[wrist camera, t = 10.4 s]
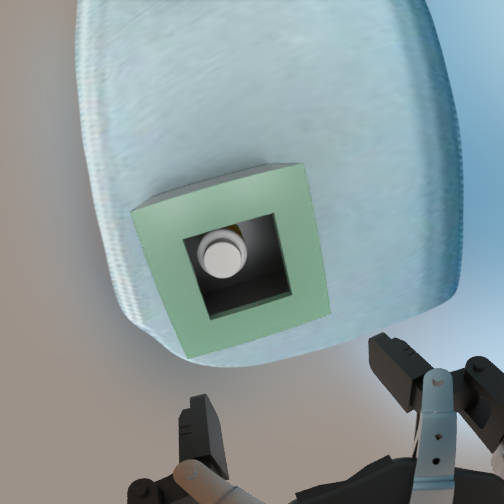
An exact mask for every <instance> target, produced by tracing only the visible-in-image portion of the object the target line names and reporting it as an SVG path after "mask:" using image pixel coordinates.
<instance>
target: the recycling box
mask: <svg viewBox="0 0 504 504" xmlns="http://www.w3.org/2000/svg"><path fill="white" fill-rule="evenodd" d="M131 215H132V219H133V222H134V225H135V228H136V231H137V234H138V237H139V240H140V243H141V245H142V248H143V251H144V254H145V257H146V260H147V262H148V265H149V268H150V270H151V273H152V276H153V278H154V281H155V284H156V286H157V289H158V291H159V294H160V296H161V299H162V301H163V304H164V306H165V309H166V311H167V314H168V316H169V318H170V321H171V323H172V325H173V328H174V330H175V332H176V335H177V337H178V339H179V341H180V344H181V346H182V348H183V350H184V352H185V355H186V357H187V359H189V358H193V357H197V356H201V355H205V354H208V353H212V352H215V351H219V350H222V349H226V348H229V347H233V346H236V345H240V344H243V343H246V342H250V341H253V340H256V339H259V338H262V337H265V336H269V335H272V334H275V333H278V332H281V331H284V330H287V329H290V328H293V327H296V326H299V325H301V324H304V323H307V322H310V321H313V320H316V319H318V318H321V317H324V316H327V315H329V314H331V310H330V303H329V296H328V290H327V283H326V277H325V271H324V265H323V259H322V253H321V247H320V242H319V236H318V231H317V226H316V220H315V215H314V210H313V205H312V200H311V196H310V191H309V186H308V181H307V177H306V172H305V168H304V163H273V164H264V165H260V166H256V167H252V168H248V169H244V170H240V171H237V172H233V173H229V174H225V175H222V176H218V177H215V178H211V179H207V180H204V181H200V182H197V183H194V184H190V185H187V186H184V187H180V188H177V189H174V190H171V191H167V192H164V193H161V194H158V195H155V196H152V197H151V198H149V199H148V200H147V201H145V202H144V203H142V204H141V205H139V206H138V207H137V208H135V209H134V210H133V211H131ZM233 224H237V225H238V227H239V228H240V230H241V232H242V235H243V238H244V241H245V244H246V247H247V258H246V262H245V264H244V266H243V267H242V268H241V270H240V271H238V272H237V273H236V274H234V275H233V276H231V277H228V278H217V277H214V276H212V275H210V274H208V273H207V272H206V271H205V270H204V269H203V268H202V267H201V265H200V263H199V261H198V257H197V249H198V244H199V240H200V237H201V234H202V233H206V232H209V231H212V230H216V229H219V228H222V227H226V226H229V225H233Z"/></svg>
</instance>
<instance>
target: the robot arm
mask: <svg viewBox="0 0 504 504" xmlns="http://www.w3.org/2000/svg"><path fill="white" fill-rule="evenodd" d="M368 343H369V364H370V367H371V369H372V371H373V373H374V374H375V375H376V376H377V377H378V379H379V380H380V381H381V382H382V384H383V385H384V386H385V387H386V388H387V390H388V391H389V392H390V393H391V394H392V396H393V397H394V398H395V399H396V400H397V401H398V403H399V404H400V405H401V407H402V408H403V409H404V410H405V411H406V413H408V412H410V411H412V410H415V411H416V412H417V415H416V422H415V431H414V438H413V445H412V450H411V455H410V457H404V458H396V459H391V457H390V456H389V455H387V456H385V457H383V458H381V459H379V460H377V461H375V462H373V463H371V464H369V465H367V466H366V467H364V468H363V469H362V470H360V471H359V472H357V473H356V474H355V475H353V476H352V477H351V478H349V479H348V480H345V481H341V482H336V483H330V484H324V485H318V486H315V487H313V488H310V489H307V490H304V491H301V492H298V493H295V495H296V497H297V499H295V500H293V501H292V502H290V503H289V504H504V373H503V372H502V371H501V370H499V369H498V368H497V367H496V366H495V365H494V364H493V363H491V361H489V360H488V359H487V358H485V357H482V356H475V357H472V358H470V359H469V360H468V361H467V363H466V366H465V368H463V369H459V370H457V371H453V372H448V371H447V370H445V369H441V368H436V369H434V368H433V367H432V366H431V365H430V364H429V363H428V362H426V360H424V359H423V358H422V357H421V356H420V355H419V354H418V353H416V351H414V349H412V348H411V347H410V346H409V345H408V344H407V343H406V342H405V341H403V340H400V339H398V338H393V339H390V338H389V337H388V336H387V335H386V334H385V333H383V332H382V333H380V334H378V335H376V336H373V337H371V338H369V341H368ZM457 412H458V413H459V414H460V415H461V416H462V417H463V419H465V421H466V422H467V423H468V425H469V426H470V427H471V428H472V429H473V431H474V432H475V433H476V434H477V435H478V437H479V438H480V439H481V440H482V442H483V443H484V444H485V445H486V447H487V448H488V449H489V450H490V452H491V453H492V454H493V455H492V458H491V465H492V467H493V471H494V472H495V474H492V473H486V472H480V471H473V470H468V469H462V468H457V467H455V456H456V455H455V454H456V434H457V414H456V413H457ZM225 480H229V475H228V470H227V463H226V458H225V452H224V446H223V439H222V433H221V427H220V422H219V418H218V416H217V414H216V412H215V410H214V408H213V406H212V404H211V402H210V400H209V398H208V396H207V395H206V394H201V395H197V396H193V397H190V408H189V409H184V410H183V411H182V413H181V415H180V417H179V464H178V465H177V466H176V467H175V469H174V471H173V473H172V474H171V475H170V476H168V477H165V478H163V479H161V480H158V481H156V482H153V481H152V480H150V479H146V478H143V479H138V480H136V481H134V482H133V483H132V484H131V485H130V486H129V488H128V492H127V497H128V499H127V504H265V503H263V502H262V501H260V500H259V499H257V498H255V497H254V496H252V495H251V494H249V493H247V492H246V491H244V490H243V489H241V488H239V487H237V486H236V487H235V486H233V485H231V484H230V483H228V482H227V481H225Z"/></svg>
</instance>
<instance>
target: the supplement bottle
mask: <svg viewBox="0 0 504 504" xmlns="http://www.w3.org/2000/svg"><path fill="white" fill-rule="evenodd" d="M197 257H198V261H199V263H200V265H201V267H202V268H203V269H204V270H205V271H206V272H207V273H208V274H210V275H212V276H214V277H217V278H228V277H231V276H233V275H234V274H236V273H237V272H238V271H240V270H241V268H242V267H243V266H244V264H245V262H246V258H247V247H246V244H245V241H244V238H243V235H242V232H241V230H240V228H239V227H238V225H237V224H233V225H229V226H226V227H222V228H219V229H216V230H212V231H209V232H206V233H202V234H201V237H200V240H199V244H198V249H197Z"/></svg>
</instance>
